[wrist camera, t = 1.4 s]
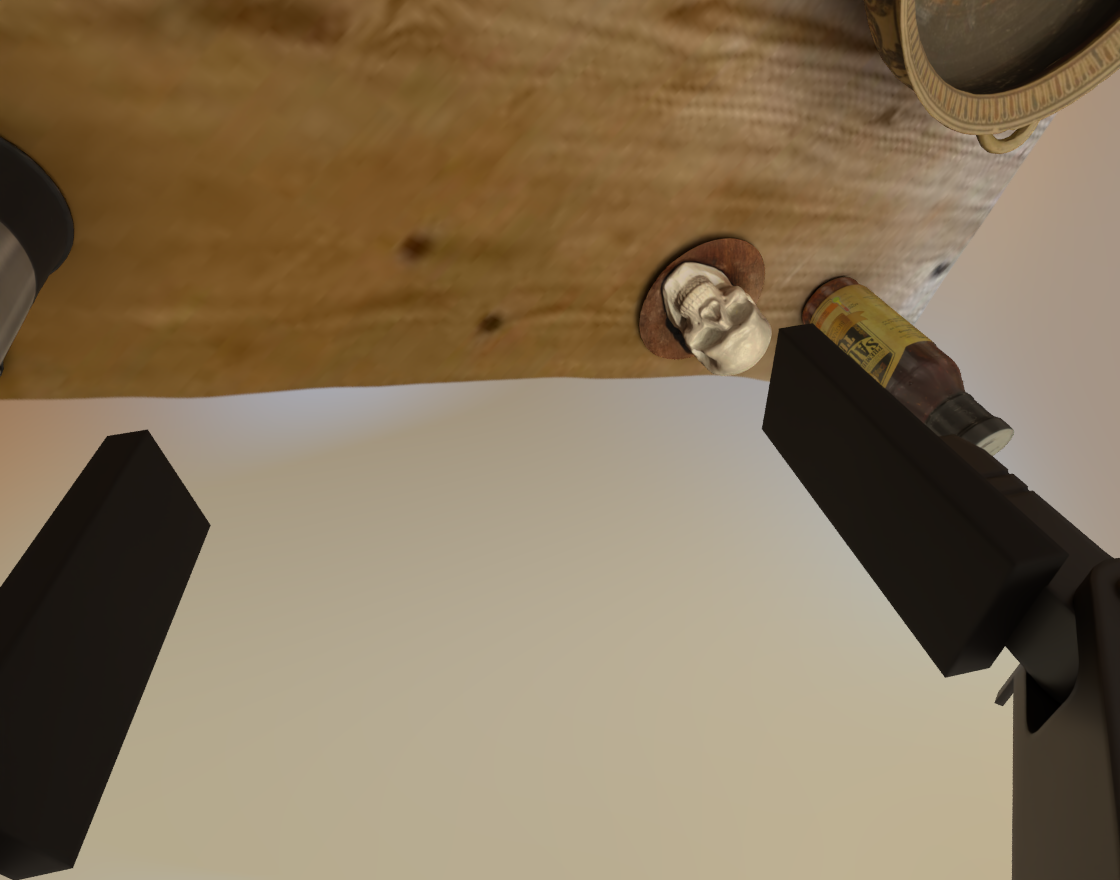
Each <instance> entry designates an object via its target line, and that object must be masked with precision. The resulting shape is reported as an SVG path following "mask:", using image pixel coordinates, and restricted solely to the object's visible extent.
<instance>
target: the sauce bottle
mask: <svg viewBox="0 0 1120 880" xmlns="http://www.w3.org/2000/svg"><path fill="white" fill-rule="evenodd" d="M802 319H803V323H804V325H805V324H811V323H813V324H814V325H815V326H816V327H817V328H819V329H820V330H821V331H822V332H823V333H824V334H825V335H826V336H827V337H829V338H830V339H831V340H832V341H833V342H834V343H835V344H836V345H837V346H839V347H840V348H841V349H842V350H843V351H844V352H845V353H846V354H847V355H849V356H850V357H851V358H852V359H853V360H854V361H855V362H856V363H857V364H859V365H860V366H861V367H862V368H863V369H864V370H865V371H866V372H867V373H869V374H870V375H871V376H872V377H873V378H874V379H875V380H876V381H877V382H879V383H880V384H881V385H882V386H883V387H884V388H885V389H886V390H887V391H888V392H890V393H891V394H892V395H893V396H894V397H895V398H896V399H897V400H898V401H900V402H901V403H902V404H903V405H904V406H905V407H906V408H907V409H908V410H910V411H911V412H912V413H913V414H914V415H915V416H916V417H917V418H918V419H920V420H921V421H922V422H923V423H924V424H925V425H926V426H927V427H928V428H930V429H931V430H932V431H933V432H934V433H935V434H936V435H937V436H944V435H949V434H955V435H957V436H959V437H961V438H963V439H965V440H967V441H969V442H971V443H973V444H975V445H977V446H979V447H981V448H983V449H985V450H986V451H987V452H988V453H989V454H990V455H992V456H993V455H995V454H996V453H998V452H999V451H1000V450H1001V449H1003V448H1004V447H1005V446H1006V445H1007V444H1008V442H1009V441H1010V440H1011V438H1012V436H1013V435H1014V430H1013V429H1012V428H1011V427H1010V426H1009V425H1008V424H1007V423H1006V422H1004V421H1003V420H1002V419H1001V418H998V417H995V416H993V415H991V414H990V413H989V412H988V411H986V410H985V409H984V408H983V407H982V406H981V405H980V404H979V403H977V402H976V401H975V400H974V398H973V397H972V396H971V395H970V394H968V393H966V392H965V390H964V385H963V381H962V378H961V373H960V370H959V368H958V367H957V365H956V363H955V362H954V361H953V360H952V359H951V358H950V357H949V356H947V355H946V354H945V353H944V352H942V351H941V350H940V349H938V348H937V346H936V344H934V342H932V341H931V340H930V339H929V338H928V337H926V336H925V335H924V334H923V333H921V332H920V331H919V330H918V329H917V328H915V327H914V326H913V325H912V324H910V323H909V322H908V321H907V320H905V319H904V318H903V317H902V316H901V315H899V314H898V313H897V312H896V311H894V310H893V309H892V308H891V307H890V306H888V305H887V304H886V303H885V302H884V301H882V300H881V299H880V298H879V297H878V296H876V295H875V294H874V293H873V292H872V291H870V290H869V289H868V288H867V287H865V286H862V285H860V284H858V282H857V281H856V280H854V279H852V278H847V277H841V278H836V279H834V280H831V281H829V282H827V283H825V284H823V285H822V286H821V287H820V288H819V289H817V291H816V292H815V293H814V294H813V295H812V296H811V298H810V299H809V300H808V302H807V303H806V306H805V308H804V309H803V313H802Z"/></svg>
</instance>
